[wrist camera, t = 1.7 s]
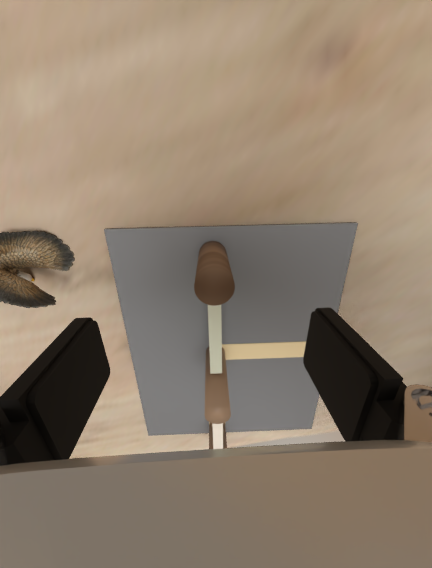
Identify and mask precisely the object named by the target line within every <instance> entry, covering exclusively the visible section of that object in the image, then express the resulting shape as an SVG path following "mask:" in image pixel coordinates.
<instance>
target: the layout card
mask: <svg viewBox="0 0 432 568" xmlns="http://www.w3.org/2000/svg"><path fill="white" fill-rule="evenodd" d="M357 225H358V223H356V222H349V223H310V224H270V225H231V226H191V227H152V228H112V229H104V231H105V236H106V241H107V245H108V250H109V255H110V259H111V264H112V268H113V273H114V278H115V282H116V287H117V292H118V296H119V301H120V306H121V310H122V315H123V319H124V324H125V329H126V333H127V338H128V343H129V347H130V352H131V357H132V361H133V366H134V370H135V375H136V380H137V384H138V389H139V394H140V398H141V403H142V407H143V412H144V417H145V421H146V426H147V431H148V435H149V436H150V435H174V434H198V433H209V424H210V422H208V421H207V420H206V419H205V367H206V349H207V348H208V347H209V326H208V305H207V304H205V303H203V302H202V301H200V300H199V299H198V297H197V296H196V294H195V291H194V283H195V276H196V270H197V263H198V256H199V250H200V248H201V247H202V245H203V244H205V243H206V242H209V241H217V242H219V243H221V244H222V245H223V246H224V247H225V249H226V252H227V256H228V260H229V264H230V268H231V272H232V275H233V279H234V283H235V290H234V294H233V296H232V297H231V298H230V299H229V300H228V301H227V302H226V303H224V304H221V321H222V347H223V348H224V350H225V358H226V369H227V379H228V390H229V400H230V411H231V417H230V419H229V420H228V421H226V422H225V427H226V432H246V431H270V430H294V429H312V424H313V420H314V415H315V411H316V406H317V402H318V398H319V392H318V391H317V389H316V387H315V385H314V383H313V381H312V380H311V378H310V376H309V374H308V372H307V370H306V369H305V367H304V363H303V357H304V351H305V346H306V340H307V334H308V329H309V323H310V317H311V313H312V312H313V311H315V310H316V308H332V309H333V310H334V311H335V312H336V313H337V314H338V309H339V305H340V300H341V296H342V291H343V287H344V283H345V278H346V274H347V269H348V265H349V260H350V256H351V252H352V247H353V243H354V238H355V234H356V229H357Z"/></svg>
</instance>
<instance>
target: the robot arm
mask: <svg viewBox="0 0 432 568" xmlns="http://www.w3.org/2000/svg"><path fill="white" fill-rule="evenodd" d="M303 363H304V367H305V369H306V370H307V372H308V374H309V376H310V378H311V380H312V381H313V383H314V385H315V387H316V389H317V391H318V392H319V394H320V396H321V398H322V400H323V402H324V403H325V405H326V407H327V409H328V411H329V412H330V414H331V416H332V418H333V420H334V422H335V423H336V425H337V427H338V429H339V431H340V432H341V434H342V436H343V438H344V440H345V441H346V442H324V443H308V444H290V445H273V446H257V447H239V448H224V449H208V450H192V451H177V452H161V453H147V454H132V455H118V456H104V457H89V458H75V459H69V457H70V456H71V454H72V452H73V450H74V448H75V446H76V444H77V441H78V439H79V437H80V435H81V433H82V431H83V429H84V427H85V425H86V423H87V421H88V419H89V417H90V415H91V413H92V411H93V409H94V407H95V405H96V403H97V401H98V399H99V397H100V395H101V392H102V390H103V388H104V386H105V384H106V382H107V380H108V378H109V375H110V367H109V363H108V360H107V356H106V352H105V349H104V345H103V342H102V338H101V334H100V331H99V327H98V324H97V322H96V321H93V319H92V318H76V319H74V320H73V321H72V322H71V323H70V324H69V325H68V326H67V327H66V329H65V330H64V331H63V332H62V333H61V334H60V335H59V336H58V337H57V338H56V339H55V340H54V341H53V342H52V343H51V344H50V345H49V346H48V347H47V348H46V350H45V351H44V352H43V353H42V354H41V355H40V356H39V357H38V358H37V359H36V360H35V361H34V362H33V363H32V364H31V365H30V366H29V367H28V368H27V369H26V371H25V372H24V373H23V374H22V375H21V376H20V377H19V378H18V379H17V380H16V381H15V382H14V383H13V384H12V385H11V386H10V387H9V388H8V389H7V390H6V392H5V393H4V394H3V395H2V396H1V397H0V568H432V387H428V386H425V385H417V384H416V385H410V386H408V387H407V386H406V385H405V384H404V383H403V382H402V380H403V378H402V377H401V376H400V375H399V374H398V373H397V372H396V371H395V370H394V369H393V368H392V367H391V366H390V365H389V364H388V363H387V362H386V361H385V360H384V359H383V358H382V357H381V356H380V355H379V354H378V353H377V352H376V351H375V350H374V349H373V348H372V347H371V346H370V345H369V344H368V343H367V342H366V341H365V340H364V339H363V338H362V337H361V336H360V335H359V334H358V333H357V332H356V331H355V330H354V329H352V328H351V327H350V326H349V325H348V324H347V323H346V322H345V321H344V320H343V319H342V318H341V317H340V316H339V315H338V314H337V313H336V312H335V311H334V310H333V309H332V308H316V310H315V311H313V312H312V313H311V317H310V323H309V329H308V334H307V340H306V346H305V351H304V357H303Z"/></svg>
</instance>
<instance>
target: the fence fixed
mask: <svg viewBox="0 0 432 568" xmlns="http://www.w3.org/2000/svg"><path fill="white" fill-rule="evenodd" d="M230 417H231V411H230V400H229V390H228V379H227V369H226V358H225V350H224V348H223V347H222V373H217V374H210V351H209V347H208V348H207V349H206V367H205V419H206V420H207V421H208V422H210V424H209V449H224V448H227V442H226V427H225V422H226V421H228V420H229V419H230Z"/></svg>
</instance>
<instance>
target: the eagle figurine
mask: <svg viewBox="0 0 432 568" xmlns="http://www.w3.org/2000/svg"><path fill="white" fill-rule="evenodd" d="M56 238H57V237H56V236H54V235H51V234H49V233H45V232H38V231H33V232H30V231H24V232H22V233H20V232H12V233H9V232H2V233H0V302H1V301H3V302H4V303H9V304H11V305H17V306H23V307H26V308H30V307H34V308H38V307H47V306H48V305H55V302H56V300H54V299H55V297H53V296H51V295H49V294H47V293H46V292H44V291H43V290H41V289H40V288H39V287H37V286H36V285H34V283H32V282H30V281H34V279H33V278H32V277H31V275H30V274H28V273H25V272H22V271H19V270H18V269H19V268H25V267H40V268H43V267H44V268H51V269H57V270H62V271H68V269H69V267H70V266H72V262H73V261H74V260H75V258H74V257H73V256H74V253H73V252H72V251H70V250H69V249H70V248H69V247H68V246H67V245H65V244H62V240H61V239H56Z"/></svg>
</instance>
